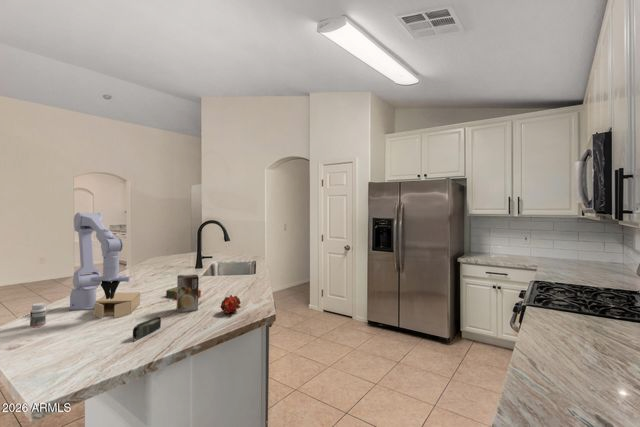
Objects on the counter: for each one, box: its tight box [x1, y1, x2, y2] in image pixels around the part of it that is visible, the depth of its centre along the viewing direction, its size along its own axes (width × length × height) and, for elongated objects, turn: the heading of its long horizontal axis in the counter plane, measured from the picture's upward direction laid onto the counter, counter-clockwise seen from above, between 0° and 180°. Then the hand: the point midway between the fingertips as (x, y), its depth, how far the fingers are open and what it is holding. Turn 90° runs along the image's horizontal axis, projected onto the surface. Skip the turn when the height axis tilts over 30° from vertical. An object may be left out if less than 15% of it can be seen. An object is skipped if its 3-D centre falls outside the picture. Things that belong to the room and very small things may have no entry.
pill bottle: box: [29, 302, 47, 328], centre depth 127 cm, size 5×5×8 cm
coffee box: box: [176, 273, 200, 313], centre depth 154 cm, size 9×6×16 cm
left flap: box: [93, 303, 105, 319], centre depth 138 cm, size 7×1×5 cm, turn 59°
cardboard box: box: [96, 291, 141, 315], centre depth 149 cm, size 14×14×6 cm
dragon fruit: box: [220, 294, 242, 315], centre depth 152 cm, size 8×8×12 cm
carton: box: [165, 286, 202, 299], centre depth 174 cm, size 8×16×4 cm, turn 72°
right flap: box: [113, 302, 131, 319], centre depth 141 cm, size 7×1×5 cm, turn 150°
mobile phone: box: [132, 316, 162, 342], centre depth 123 cm, size 5×3×15 cm
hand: (109, 298), depth 138 cm, fingers closed
